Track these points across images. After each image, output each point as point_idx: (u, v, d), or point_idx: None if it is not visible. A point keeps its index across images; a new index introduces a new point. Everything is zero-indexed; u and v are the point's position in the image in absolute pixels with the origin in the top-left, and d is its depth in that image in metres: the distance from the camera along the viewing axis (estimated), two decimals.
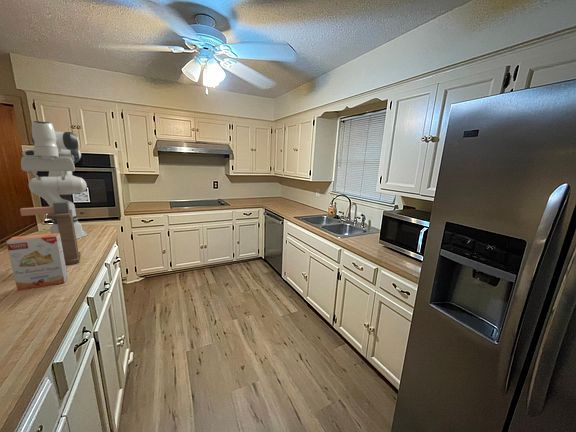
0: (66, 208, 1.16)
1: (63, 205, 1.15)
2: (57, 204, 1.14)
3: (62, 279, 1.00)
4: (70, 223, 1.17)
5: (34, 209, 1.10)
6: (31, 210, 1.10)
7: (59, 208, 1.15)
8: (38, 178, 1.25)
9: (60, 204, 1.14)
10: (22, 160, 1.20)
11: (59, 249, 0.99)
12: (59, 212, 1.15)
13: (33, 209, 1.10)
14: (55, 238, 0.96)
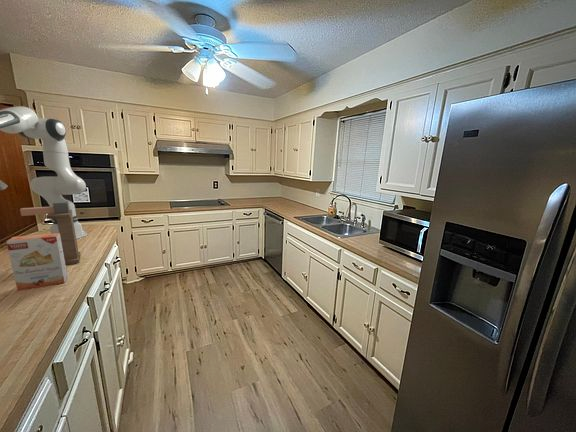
0: (66, 208, 1.16)
1: (63, 205, 1.15)
2: (57, 204, 1.14)
3: (62, 279, 1.00)
4: (70, 223, 1.17)
5: (34, 209, 1.10)
6: (31, 210, 1.10)
7: (59, 208, 1.15)
8: (0, 188, 1.09)
9: (60, 204, 1.14)
10: None
11: (59, 249, 0.99)
12: (59, 212, 1.15)
13: (33, 209, 1.10)
14: (55, 238, 0.96)
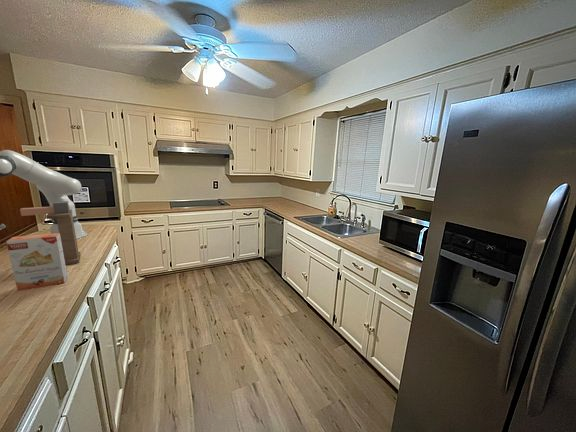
0: (66, 208, 1.16)
1: (63, 205, 1.15)
2: (57, 204, 1.14)
3: (62, 279, 1.00)
4: (70, 223, 1.17)
5: (34, 209, 1.10)
6: (31, 210, 1.10)
7: (59, 208, 1.15)
8: None
9: (60, 204, 1.14)
10: None
11: (59, 249, 0.99)
12: (59, 212, 1.15)
13: (33, 209, 1.10)
14: (55, 238, 0.96)
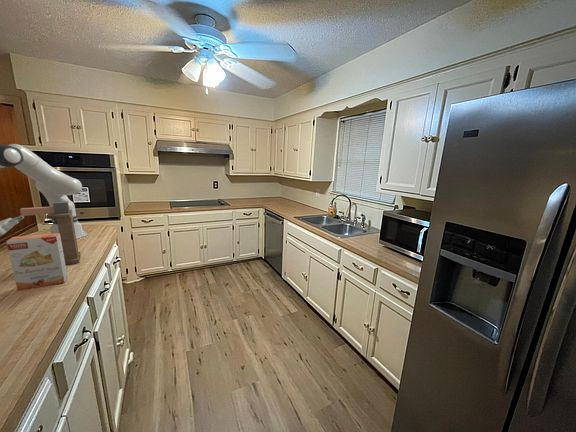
0: (66, 208, 1.16)
1: (63, 205, 1.15)
2: (57, 204, 1.14)
3: (62, 279, 1.00)
4: (70, 223, 1.17)
5: (34, 209, 1.10)
6: (31, 210, 1.10)
7: (59, 208, 1.15)
8: None
9: (60, 204, 1.14)
10: None
11: (59, 249, 0.99)
12: (59, 212, 1.15)
13: (33, 209, 1.10)
14: (55, 238, 0.96)
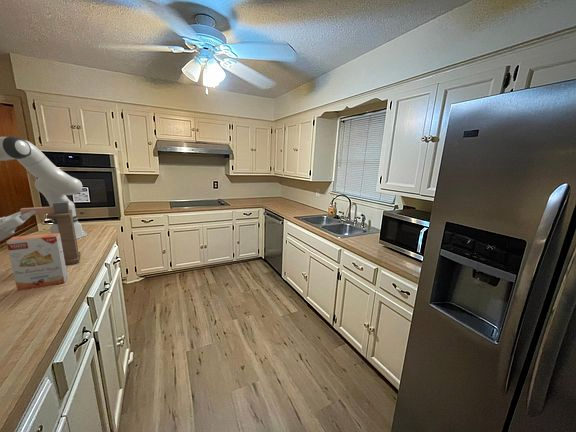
0: (66, 208, 1.16)
1: (63, 205, 1.15)
2: (57, 204, 1.14)
3: (62, 279, 1.00)
4: (70, 223, 1.17)
5: (34, 209, 1.10)
6: None
7: (59, 208, 1.15)
8: None
9: (60, 204, 1.14)
10: None
11: (59, 249, 0.99)
12: (59, 212, 1.15)
13: (33, 209, 1.10)
14: (55, 238, 0.96)
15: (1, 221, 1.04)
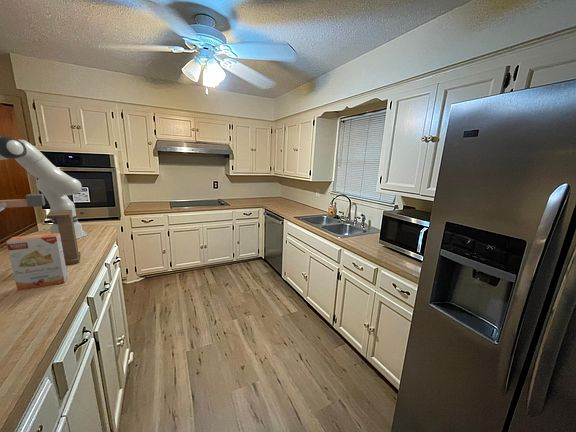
0: (40, 201, 1.10)
1: (37, 198, 1.09)
2: (30, 196, 1.08)
3: (62, 279, 1.00)
4: (70, 223, 1.17)
5: (5, 201, 1.04)
6: (2, 202, 1.04)
7: (33, 201, 1.09)
8: None
9: (34, 197, 1.09)
10: None
11: (59, 249, 0.99)
12: (33, 205, 1.09)
13: (3, 201, 1.04)
14: (55, 238, 0.96)
15: None
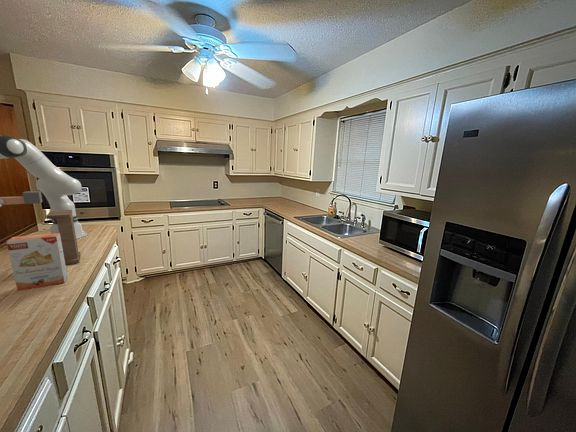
0: (37, 198, 1.09)
1: (34, 195, 1.09)
2: (27, 194, 1.07)
3: (62, 279, 1.00)
4: (70, 223, 1.17)
5: (2, 198, 1.04)
6: None
7: (30, 198, 1.08)
8: None
9: (31, 194, 1.08)
10: None
11: (59, 249, 0.99)
12: (30, 202, 1.08)
13: (0, 198, 1.03)
14: (55, 238, 0.96)
15: None
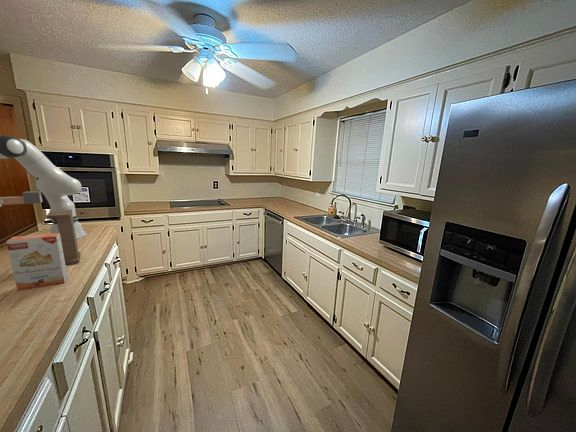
0: (37, 198, 1.09)
1: (34, 195, 1.09)
2: (27, 194, 1.07)
3: (62, 279, 1.00)
4: (70, 223, 1.17)
5: (2, 198, 1.04)
6: None
7: (30, 198, 1.08)
8: None
9: (31, 194, 1.08)
10: None
11: (59, 249, 0.99)
12: (30, 202, 1.08)
13: (0, 198, 1.03)
14: (55, 238, 0.96)
15: None
